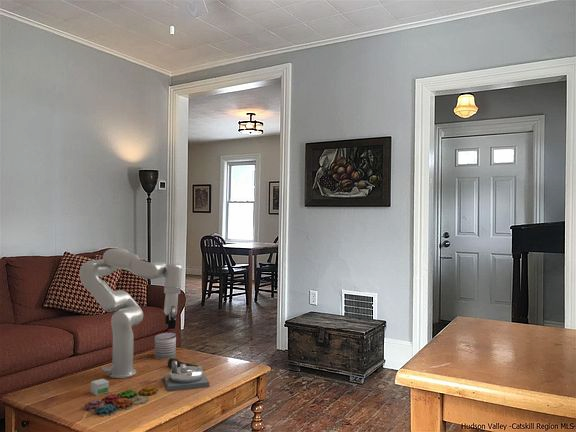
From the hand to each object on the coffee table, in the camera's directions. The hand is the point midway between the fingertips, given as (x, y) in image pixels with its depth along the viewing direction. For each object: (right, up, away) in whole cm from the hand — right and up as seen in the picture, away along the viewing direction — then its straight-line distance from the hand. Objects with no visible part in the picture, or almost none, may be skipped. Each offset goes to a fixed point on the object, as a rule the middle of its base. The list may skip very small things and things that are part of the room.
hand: (170, 326), depth 220 cm
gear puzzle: (-11, -25, -28) cm, 39 cm away
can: (-12, -26, +37) cm, 47 cm away
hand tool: (+2, -26, +15) cm, 30 cm away
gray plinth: (+8, -25, -4) cm, 27 cm away
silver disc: (+8, -23, -4) cm, 25 cm away
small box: (-26, -25, -19) cm, 40 cm away
